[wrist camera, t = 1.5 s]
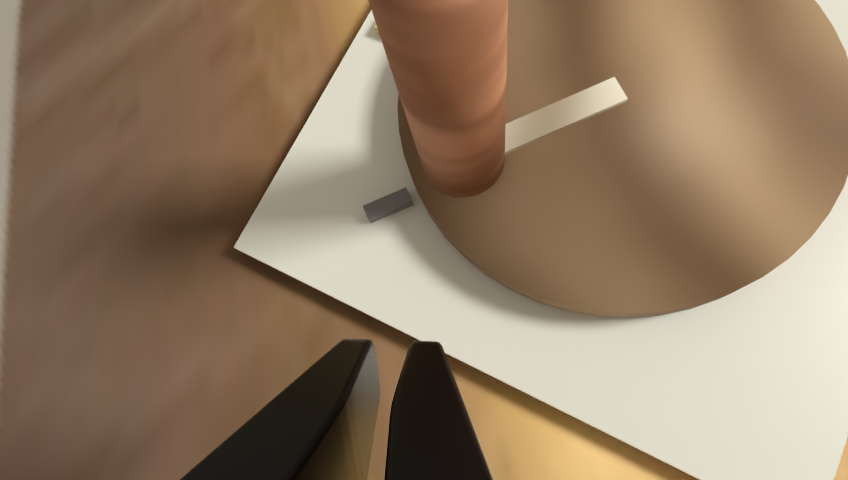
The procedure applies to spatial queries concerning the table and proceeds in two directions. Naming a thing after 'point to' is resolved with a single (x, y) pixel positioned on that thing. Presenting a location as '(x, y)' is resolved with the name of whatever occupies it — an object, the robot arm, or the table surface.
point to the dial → (621, 140)
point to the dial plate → (559, 329)
